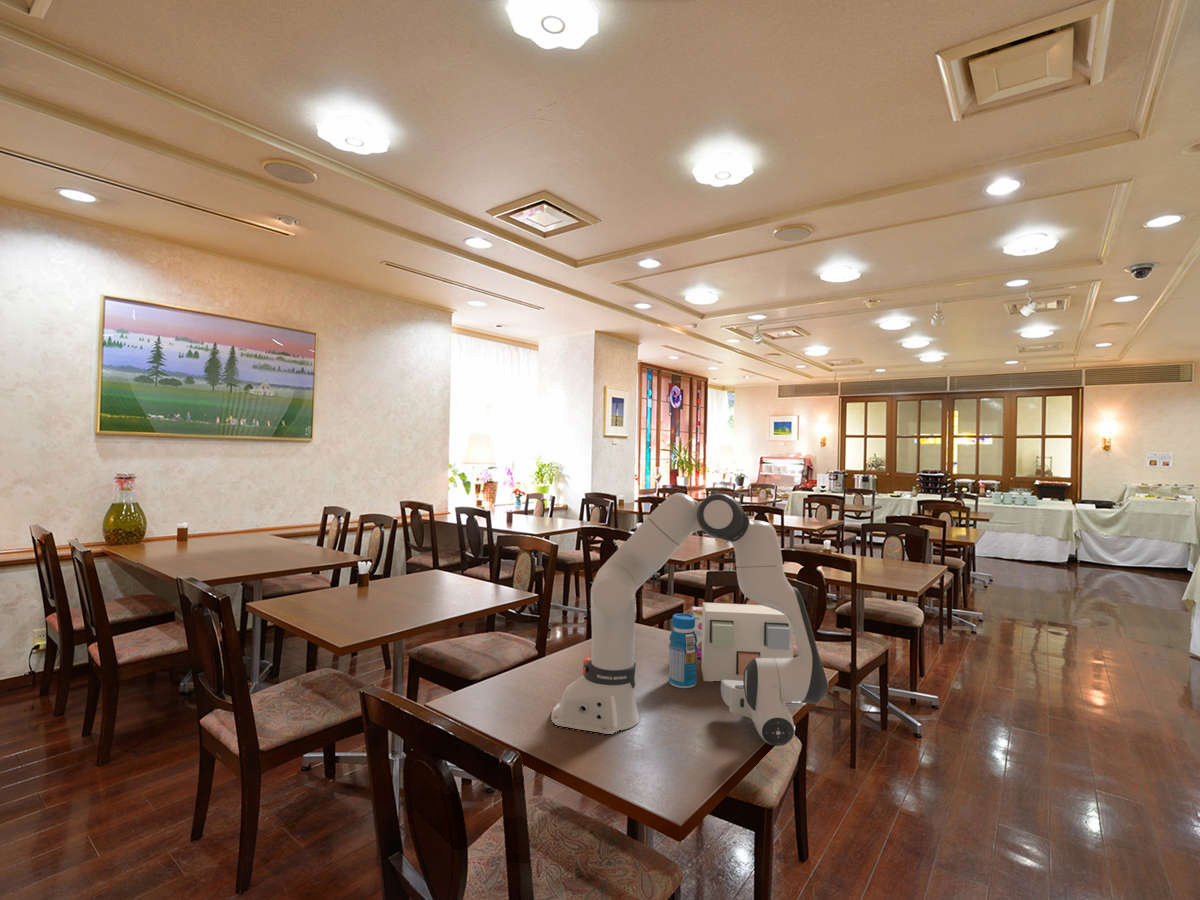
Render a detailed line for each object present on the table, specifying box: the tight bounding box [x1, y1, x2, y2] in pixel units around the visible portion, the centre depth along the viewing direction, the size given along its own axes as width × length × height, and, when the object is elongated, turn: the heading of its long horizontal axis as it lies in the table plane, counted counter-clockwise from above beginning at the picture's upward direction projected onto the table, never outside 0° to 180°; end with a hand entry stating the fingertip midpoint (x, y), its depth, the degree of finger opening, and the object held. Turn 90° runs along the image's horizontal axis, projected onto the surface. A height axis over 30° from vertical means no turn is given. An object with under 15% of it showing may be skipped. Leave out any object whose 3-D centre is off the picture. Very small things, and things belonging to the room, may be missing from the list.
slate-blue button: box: [765, 622, 790, 650], centre depth 173 cm, size 6×6×6 cm
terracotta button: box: [736, 651, 760, 675], centre depth 176 cm, size 6×6×6 cm
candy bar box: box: [690, 606, 703, 660], centre depth 196 cm, size 11×5×16 cm, turn 84°
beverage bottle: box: [668, 613, 698, 689], centre depth 173 cm, size 8×8×20 cm
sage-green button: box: [711, 620, 734, 647], centre depth 174 cm, size 6×6×6 cm
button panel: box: [700, 602, 794, 682], centre depth 180 cm, size 26×10×21 cm, turn 84°
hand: (756, 681), depth 158 cm, fingers closed
